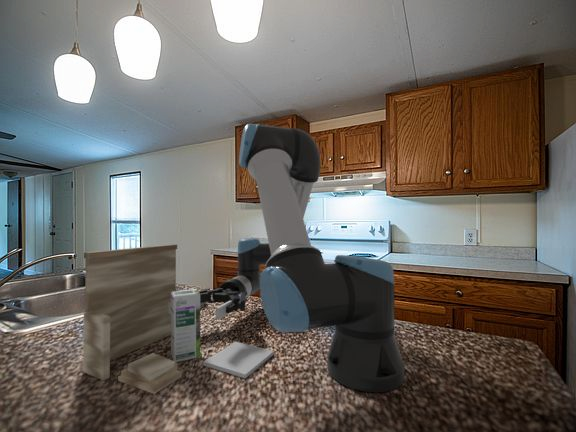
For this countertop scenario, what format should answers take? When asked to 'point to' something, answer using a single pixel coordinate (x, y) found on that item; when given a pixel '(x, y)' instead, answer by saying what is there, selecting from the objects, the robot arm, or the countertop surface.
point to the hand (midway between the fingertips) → (192, 311)
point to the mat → (239, 359)
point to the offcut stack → (150, 373)
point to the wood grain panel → (125, 303)
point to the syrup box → (185, 325)
